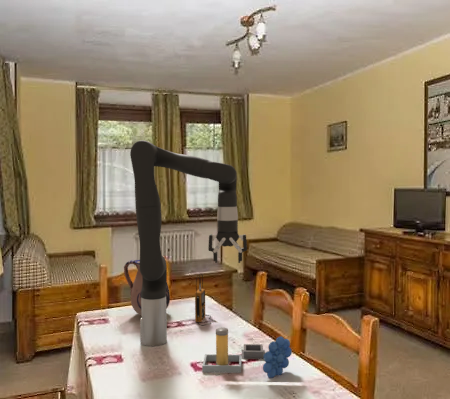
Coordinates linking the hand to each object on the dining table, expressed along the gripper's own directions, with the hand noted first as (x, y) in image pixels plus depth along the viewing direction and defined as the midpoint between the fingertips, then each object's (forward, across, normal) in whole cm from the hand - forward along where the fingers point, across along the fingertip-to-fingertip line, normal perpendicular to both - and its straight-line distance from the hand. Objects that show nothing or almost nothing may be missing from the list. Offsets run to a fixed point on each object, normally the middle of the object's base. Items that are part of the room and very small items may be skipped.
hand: (227, 262), depth 157 cm
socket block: (+30, +9, -12) cm, 34 cm away
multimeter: (+30, -10, +26) cm, 41 cm away
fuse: (+30, -1, -22) cm, 37 cm away
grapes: (+30, +16, -27) cm, 43 cm away
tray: (+30, -1, -22) cm, 38 cm away
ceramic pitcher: (+30, -39, +34) cm, 60 cm away
